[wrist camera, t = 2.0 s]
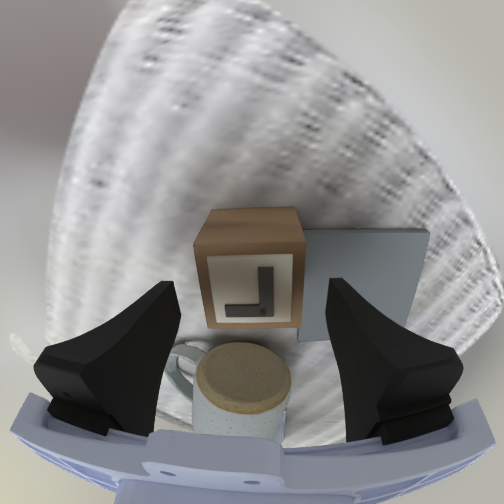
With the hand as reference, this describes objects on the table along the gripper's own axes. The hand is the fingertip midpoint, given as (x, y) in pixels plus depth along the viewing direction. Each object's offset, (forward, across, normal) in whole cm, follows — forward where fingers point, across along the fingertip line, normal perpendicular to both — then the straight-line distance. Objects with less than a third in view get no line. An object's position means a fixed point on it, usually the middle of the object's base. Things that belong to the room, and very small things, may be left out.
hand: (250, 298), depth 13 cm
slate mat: (+6, -8, +4) cm, 10 cm away
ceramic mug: (+6, +3, +12) cm, 14 cm away
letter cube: (+6, 0, 0) cm, 6 cm away
